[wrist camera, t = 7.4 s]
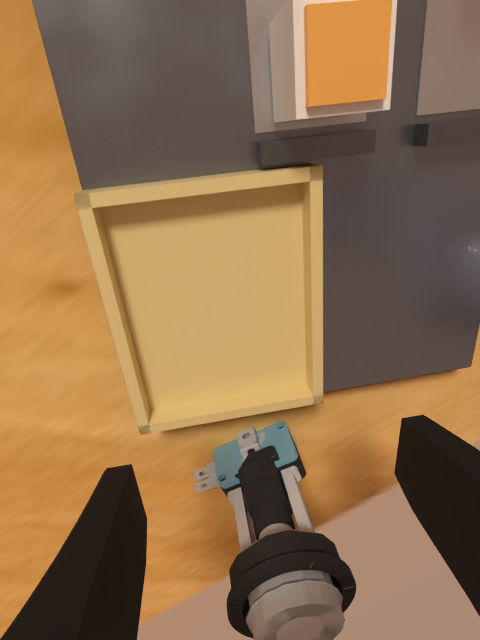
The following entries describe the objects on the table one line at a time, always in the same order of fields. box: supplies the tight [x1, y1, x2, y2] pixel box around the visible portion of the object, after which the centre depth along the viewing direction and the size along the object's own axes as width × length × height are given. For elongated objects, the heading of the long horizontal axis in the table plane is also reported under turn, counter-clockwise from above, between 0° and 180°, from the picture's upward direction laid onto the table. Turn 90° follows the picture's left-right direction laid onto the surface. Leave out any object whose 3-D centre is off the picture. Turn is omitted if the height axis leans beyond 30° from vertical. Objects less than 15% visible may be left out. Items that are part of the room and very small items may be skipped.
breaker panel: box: [32, 0, 480, 392], centre depth 16 cm, size 18×22×3 cm
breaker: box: [269, 0, 397, 123], centre depth 12 cm, size 3×3×3 cm
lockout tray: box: [74, 163, 323, 435], centre depth 17 cm, size 9×11×1 cm
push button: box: [193, 421, 356, 640], centre depth 19 cm, size 7×5×10 cm
